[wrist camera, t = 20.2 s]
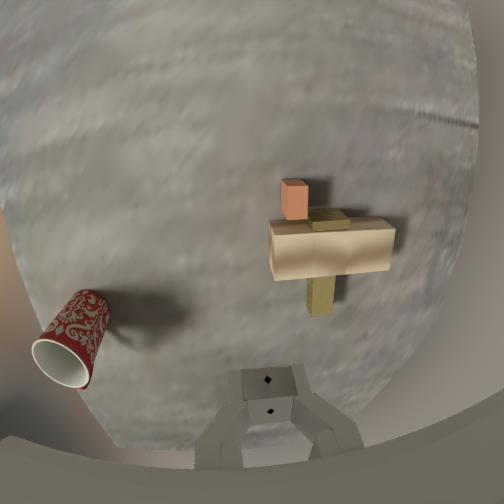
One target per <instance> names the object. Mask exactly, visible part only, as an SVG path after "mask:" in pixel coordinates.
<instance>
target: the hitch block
mask: <svg viewBox="0 0 504 504" xmlns="http://www.w3.org/2000/svg"><path fill="white" fill-rule="evenodd" d="M348 218H349V219H350V229H341V230H328V231H315V232H312V230H311V229H310V228H309V226H308V225H307V224H306V222H305V221H304V220H303V219H299V220H280V221H269V263H270V266H271V270H272V273H273V277H274V280H275V281H278V280H290V279H302V278H313V277H324V276H335V275H345V274H355V273H365V272H375V271H384V270H389V267H390V262H391V256H392V250H393V244H394V238H395V231H396V229H395V228H394V227H393V226H391V225H390V224H389V223H387V222H386V221H385V220H383V219H382V218H380V217H379V216H374V217H348Z"/></svg>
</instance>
